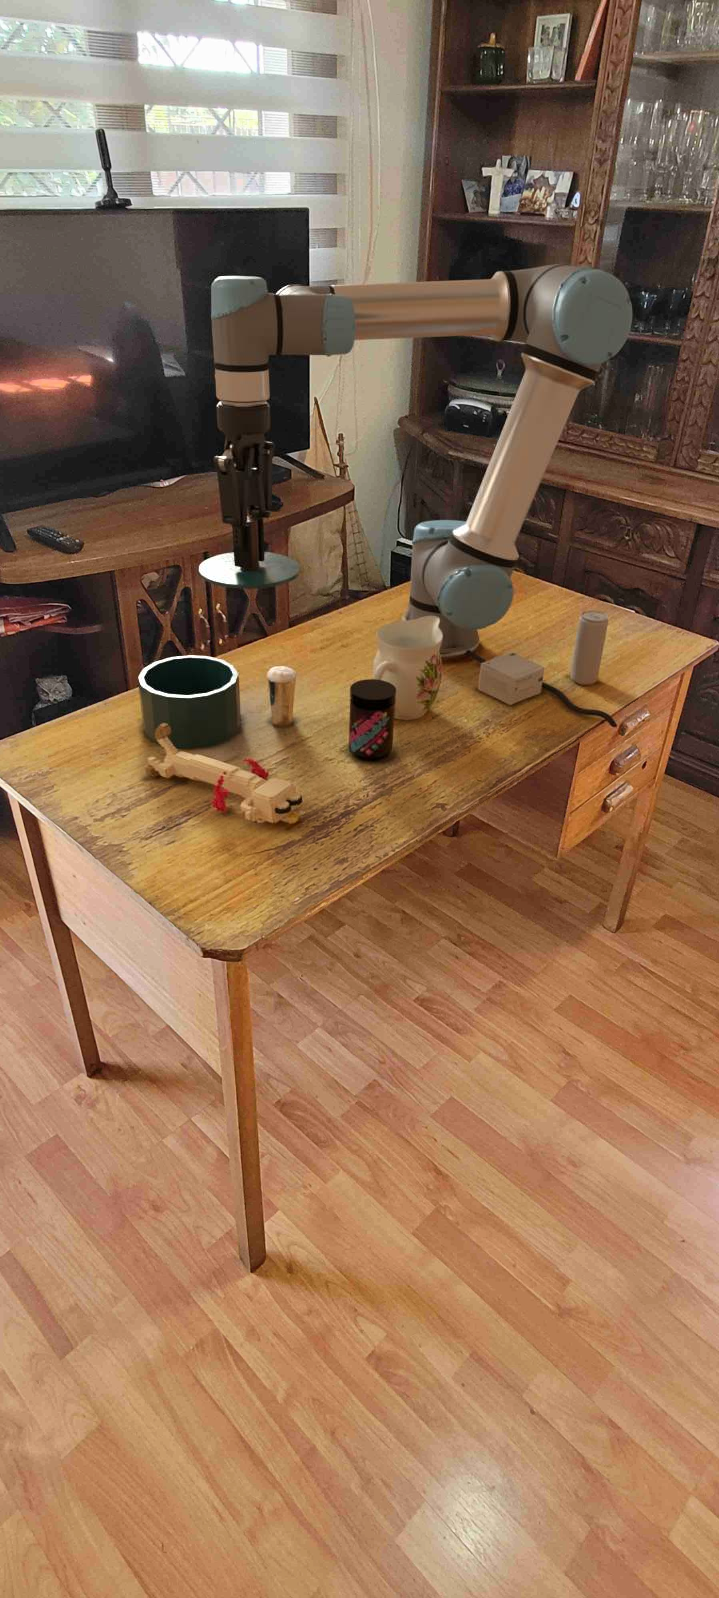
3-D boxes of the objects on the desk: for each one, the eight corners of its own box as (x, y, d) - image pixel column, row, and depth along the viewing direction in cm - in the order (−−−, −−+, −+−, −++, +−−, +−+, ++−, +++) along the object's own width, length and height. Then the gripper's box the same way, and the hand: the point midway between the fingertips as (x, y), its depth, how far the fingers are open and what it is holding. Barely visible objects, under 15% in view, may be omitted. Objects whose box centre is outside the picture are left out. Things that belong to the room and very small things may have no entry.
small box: (510, 706, 154) (514, 678, 151) (476, 689, 159) (479, 661, 156) (541, 694, 158) (546, 666, 155) (507, 678, 163) (511, 650, 160)
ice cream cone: (297, 730, 145) (297, 671, 139) (264, 726, 145) (262, 667, 140) (304, 717, 148) (304, 659, 143) (272, 713, 149) (271, 655, 144)
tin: (257, 716, 148) (256, 667, 143) (205, 757, 137) (201, 706, 132) (180, 696, 153) (176, 648, 149) (124, 733, 142) (118, 683, 137)
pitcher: (342, 723, 147) (344, 643, 139) (402, 684, 160) (406, 608, 152) (401, 744, 142) (406, 661, 134) (458, 701, 155) (465, 624, 147)
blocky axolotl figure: (137, 791, 131) (276, 840, 118) (127, 735, 126) (270, 780, 114) (186, 762, 138) (322, 806, 125) (178, 708, 133) (318, 748, 121)
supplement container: (338, 749, 140) (340, 687, 134) (372, 736, 144) (375, 675, 138) (368, 767, 136) (371, 704, 130) (402, 753, 140) (406, 691, 134)
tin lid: (318, 568, 149) (318, 513, 144) (268, 599, 137) (266, 541, 132) (233, 552, 154) (231, 499, 149) (178, 581, 142) (173, 524, 137)
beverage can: (585, 688, 160) (597, 623, 154) (563, 679, 163) (574, 614, 157) (602, 681, 163) (614, 616, 157) (580, 671, 166) (591, 608, 160)
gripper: (249, 390, 139) (255, 545, 152) (188, 407, 127) (200, 574, 139) (293, 395, 136) (295, 552, 149) (235, 413, 124) (243, 582, 137)
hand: (249, 562), depth 144 cm, fingers closed on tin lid, 3 cm apart
